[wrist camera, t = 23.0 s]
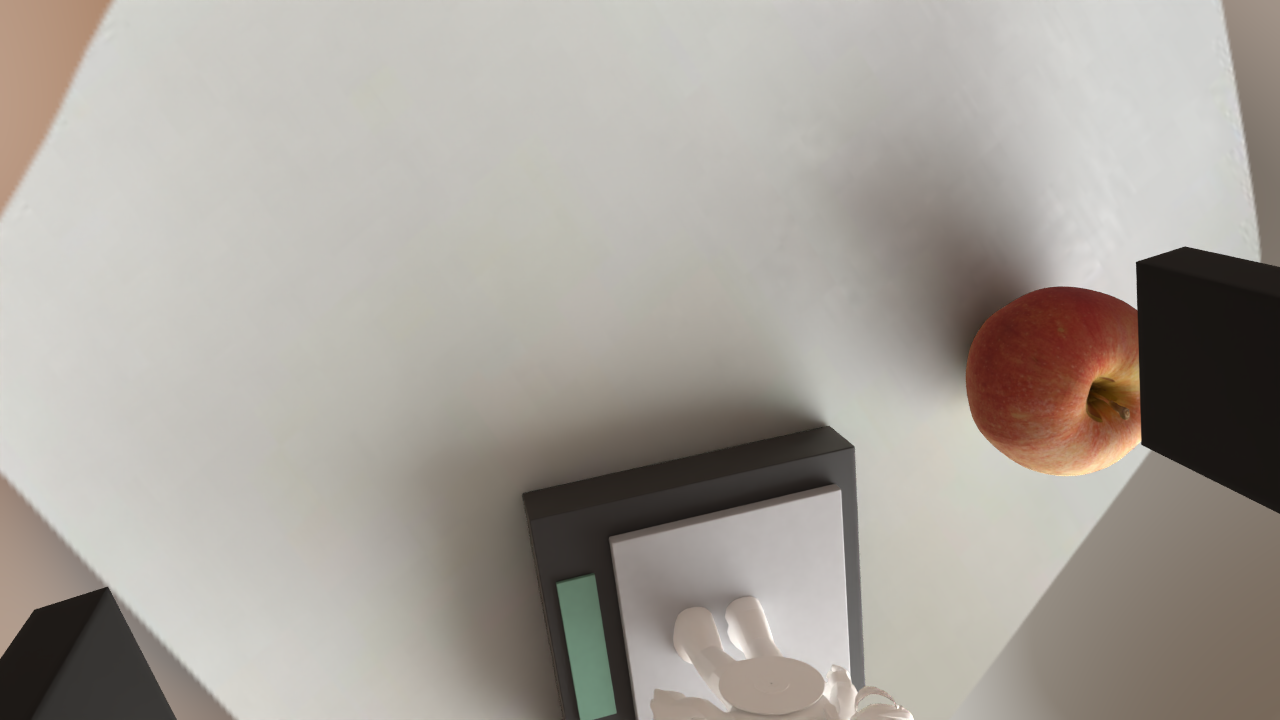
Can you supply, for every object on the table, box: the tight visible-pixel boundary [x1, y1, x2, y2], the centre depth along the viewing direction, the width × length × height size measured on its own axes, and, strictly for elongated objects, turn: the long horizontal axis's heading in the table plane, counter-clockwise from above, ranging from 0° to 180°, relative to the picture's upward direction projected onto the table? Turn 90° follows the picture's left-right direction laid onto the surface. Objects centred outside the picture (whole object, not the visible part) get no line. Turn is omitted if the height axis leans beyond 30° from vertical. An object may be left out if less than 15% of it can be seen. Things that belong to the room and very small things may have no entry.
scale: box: [522, 426, 865, 720], centre depth 40 cm, size 14×13×3 cm
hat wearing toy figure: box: [650, 596, 914, 720], centre depth 33 cm, size 9×4×12 cm, turn 90°
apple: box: [966, 287, 1141, 476], centre depth 38 cm, size 8×8×8 cm
